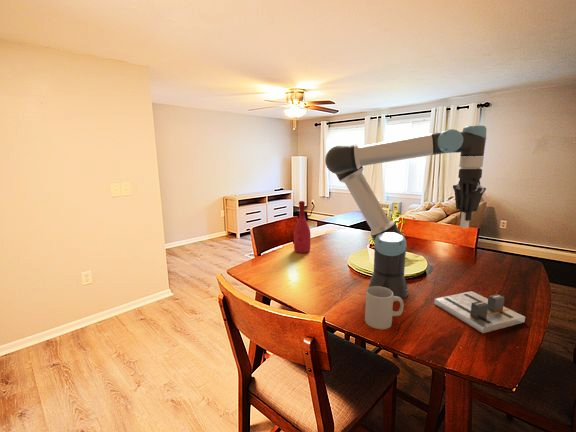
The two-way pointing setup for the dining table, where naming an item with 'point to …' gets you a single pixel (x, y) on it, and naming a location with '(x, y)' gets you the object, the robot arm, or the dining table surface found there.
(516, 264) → the dining table surface
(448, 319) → the dining table surface
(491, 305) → the fader tab
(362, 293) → the dining table surface
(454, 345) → the dining table surface
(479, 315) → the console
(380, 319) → the mug
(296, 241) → the wine bottle
